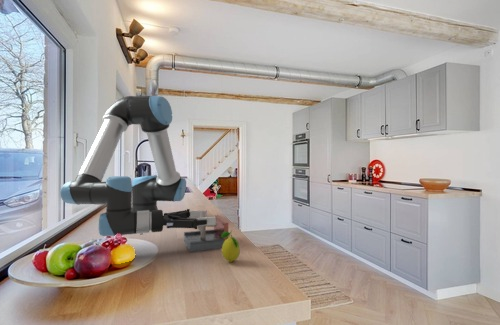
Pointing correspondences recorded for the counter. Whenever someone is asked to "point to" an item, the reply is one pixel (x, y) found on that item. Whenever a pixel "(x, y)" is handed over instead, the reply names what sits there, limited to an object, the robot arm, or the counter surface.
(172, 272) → the counter surface
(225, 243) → the lemon
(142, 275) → the counter surface
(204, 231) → the pipe connector
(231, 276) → the counter surface
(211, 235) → the grey shallow tray
